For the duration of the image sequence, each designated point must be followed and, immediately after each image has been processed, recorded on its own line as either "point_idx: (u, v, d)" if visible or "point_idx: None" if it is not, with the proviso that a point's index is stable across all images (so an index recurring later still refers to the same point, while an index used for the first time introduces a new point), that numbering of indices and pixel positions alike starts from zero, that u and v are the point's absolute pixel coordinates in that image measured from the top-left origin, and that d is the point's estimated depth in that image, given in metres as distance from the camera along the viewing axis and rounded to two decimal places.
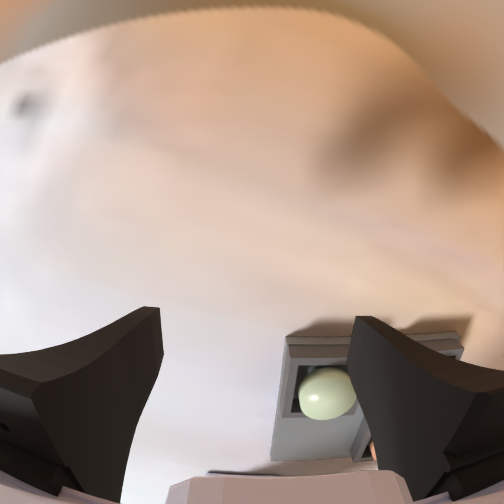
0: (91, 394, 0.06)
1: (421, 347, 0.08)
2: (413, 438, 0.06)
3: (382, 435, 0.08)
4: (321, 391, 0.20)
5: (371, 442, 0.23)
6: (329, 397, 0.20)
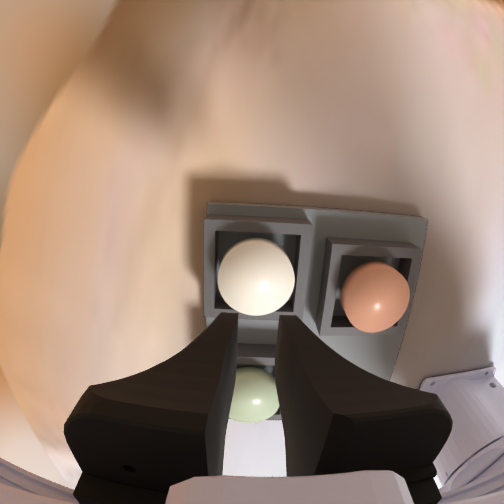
0: (218, 413, 0.06)
1: (328, 351, 0.08)
2: (301, 451, 0.06)
3: (289, 442, 0.08)
4: (234, 409, 0.19)
5: None
6: (244, 402, 0.19)
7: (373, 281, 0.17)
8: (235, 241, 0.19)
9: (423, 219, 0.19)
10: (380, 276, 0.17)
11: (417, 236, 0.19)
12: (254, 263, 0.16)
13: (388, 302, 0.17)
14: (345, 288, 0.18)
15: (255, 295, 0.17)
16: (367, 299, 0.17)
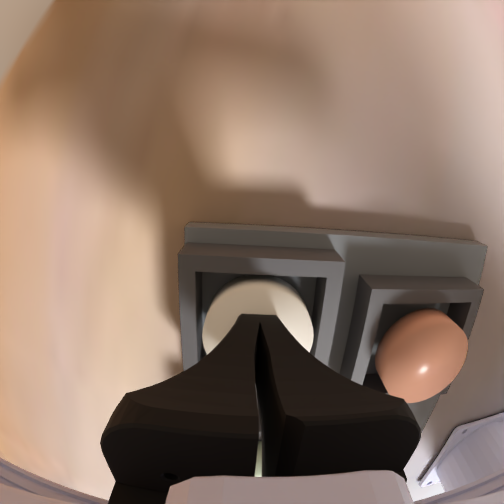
0: None
1: (301, 351, 0.08)
2: (268, 451, 0.06)
3: (263, 442, 0.08)
4: None
5: None
6: None
7: (426, 341, 0.11)
8: (227, 281, 0.13)
9: (482, 245, 0.12)
10: (436, 334, 0.10)
11: (474, 268, 0.13)
12: None
13: (440, 366, 0.11)
14: (385, 350, 0.11)
15: None
16: (415, 365, 0.11)
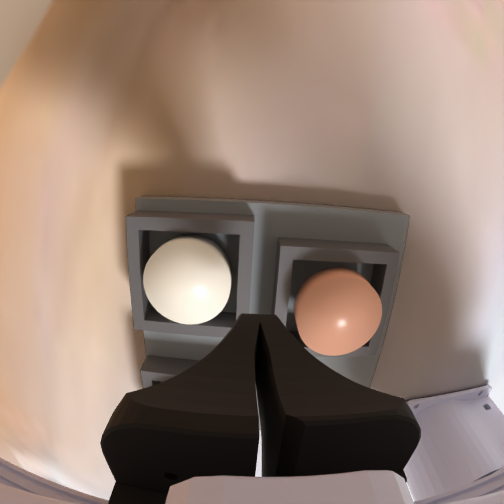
0: None
1: (301, 351, 0.08)
2: (269, 451, 0.06)
3: (263, 442, 0.08)
4: None
5: None
6: None
7: (332, 294, 0.13)
8: None
9: (403, 215, 0.15)
10: (342, 287, 0.13)
11: (396, 236, 0.16)
12: (182, 264, 0.14)
13: (353, 320, 0.14)
14: (298, 301, 0.14)
15: (186, 301, 0.14)
16: (325, 316, 0.14)
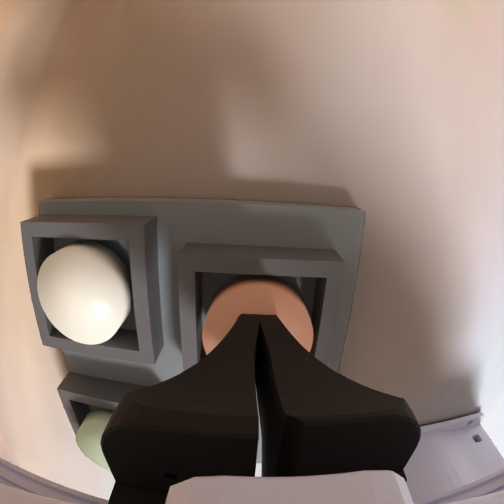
0: None
1: (301, 351, 0.08)
2: (269, 451, 0.06)
3: (263, 442, 0.08)
4: (98, 456, 0.13)
5: None
6: None
7: (242, 308, 0.11)
8: None
9: (357, 211, 0.12)
10: (253, 301, 0.11)
11: (346, 239, 0.12)
12: (69, 276, 0.11)
13: None
14: (206, 315, 0.12)
15: (79, 318, 0.11)
16: None
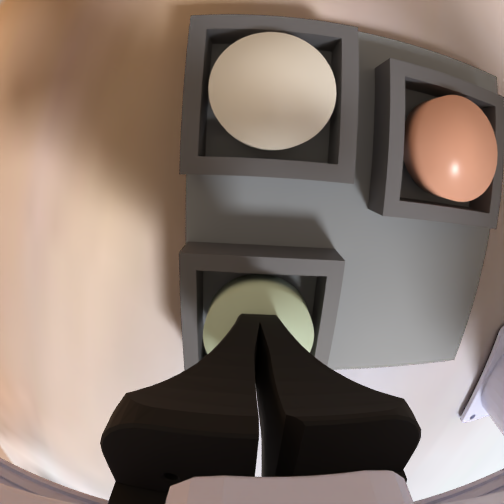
0: None
1: (301, 351, 0.08)
2: (268, 451, 0.06)
3: (263, 442, 0.08)
4: None
5: (439, 196, 0.11)
6: None
7: (450, 112, 0.09)
8: None
9: (491, 76, 0.10)
10: (458, 106, 0.09)
11: None
12: (270, 59, 0.09)
13: (473, 152, 0.09)
14: (410, 125, 0.10)
15: (272, 111, 0.09)
16: (446, 139, 0.09)
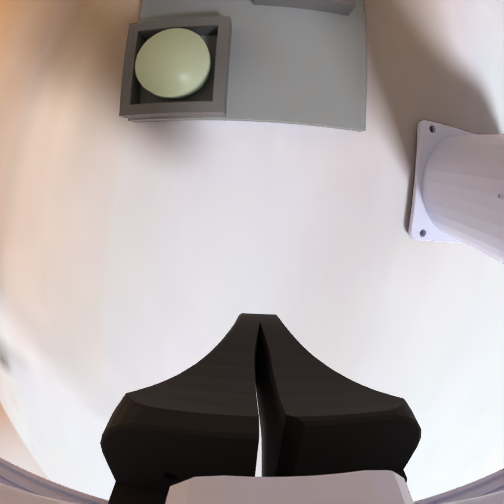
0: None
1: (301, 351, 0.08)
2: (268, 451, 0.06)
3: (263, 442, 0.08)
4: (152, 73, 0.14)
5: None
6: (165, 61, 0.14)
7: None
8: None
9: None
10: None
11: None
12: None
13: None
14: None
15: None
16: None
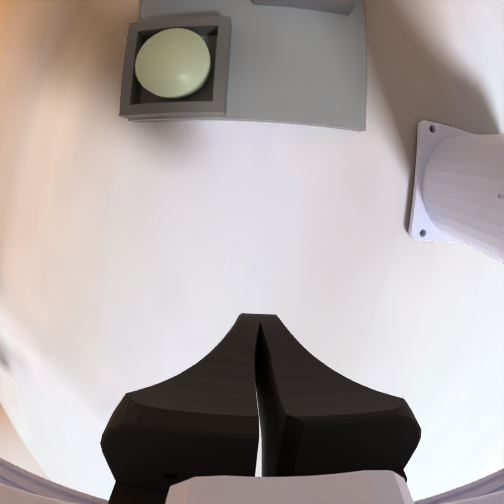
0: None
1: (301, 351, 0.08)
2: (269, 451, 0.06)
3: (263, 442, 0.08)
4: (152, 73, 0.14)
5: None
6: (165, 61, 0.14)
7: None
8: None
9: None
10: None
11: None
12: None
13: None
14: None
15: None
16: None
